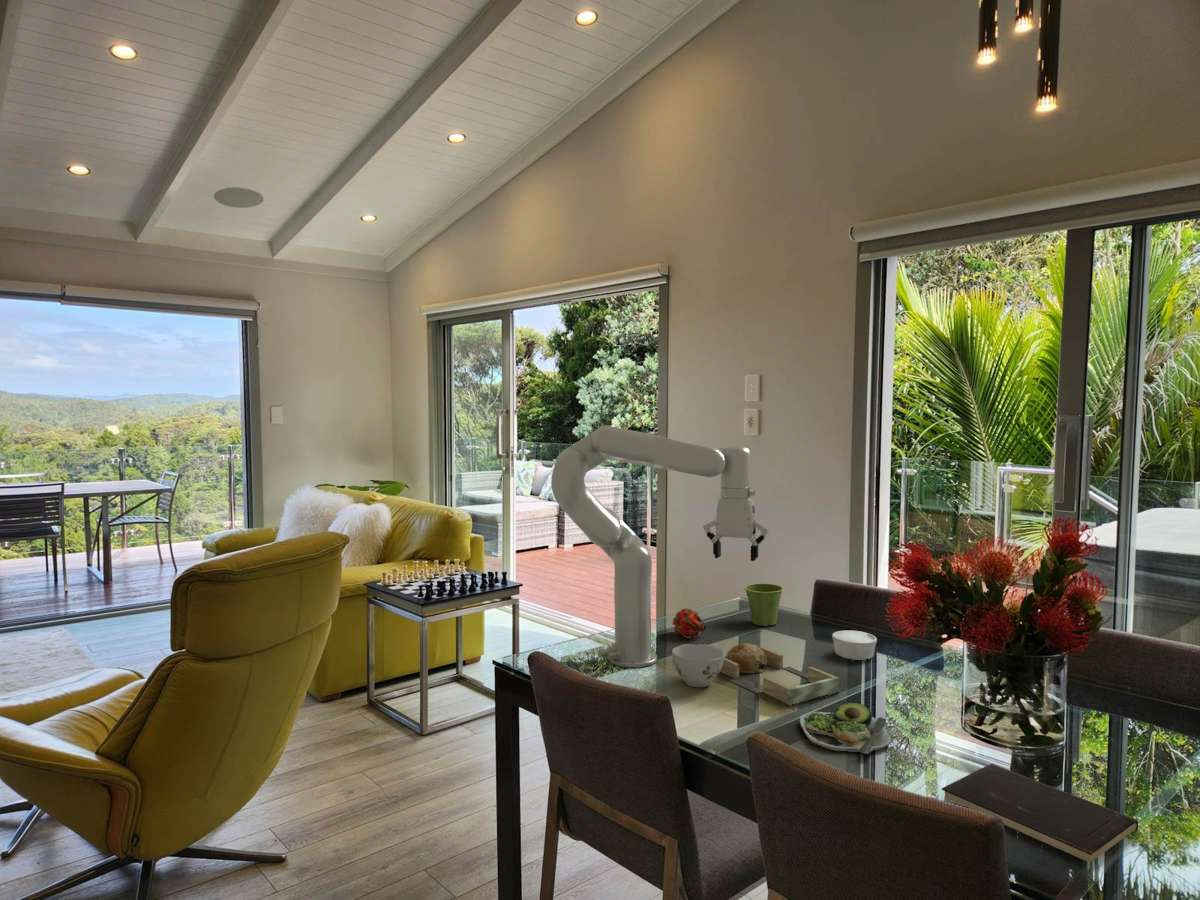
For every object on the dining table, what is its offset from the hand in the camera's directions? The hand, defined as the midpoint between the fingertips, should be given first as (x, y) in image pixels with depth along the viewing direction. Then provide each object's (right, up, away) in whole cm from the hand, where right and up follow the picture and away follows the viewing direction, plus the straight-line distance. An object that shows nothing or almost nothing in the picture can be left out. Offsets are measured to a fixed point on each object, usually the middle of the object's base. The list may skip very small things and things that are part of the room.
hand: (735, 558), depth 200 cm
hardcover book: (+35, -31, -76) cm, 90 cm away
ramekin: (+32, -26, +3) cm, 42 cm away
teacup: (-13, -28, -16) cm, 34 cm away
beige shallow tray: (+6, -27, -15) cm, 32 cm away
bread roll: (+1, -27, -6) cm, 28 cm away
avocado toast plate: (+14, -30, -46) cm, 56 cm away
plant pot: (+14, -25, +33) cm, 44 cm away
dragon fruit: (-10, -26, +21) cm, 34 cm away
